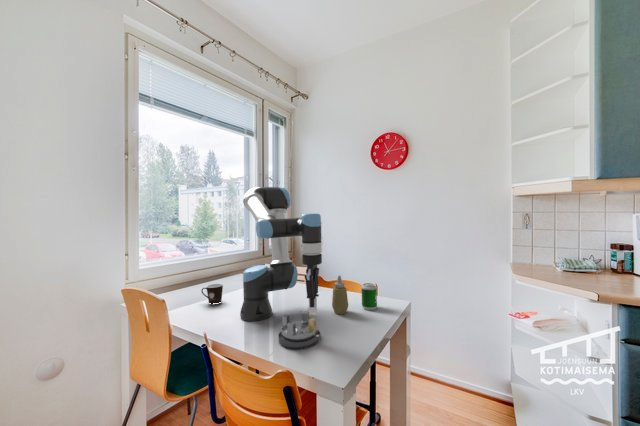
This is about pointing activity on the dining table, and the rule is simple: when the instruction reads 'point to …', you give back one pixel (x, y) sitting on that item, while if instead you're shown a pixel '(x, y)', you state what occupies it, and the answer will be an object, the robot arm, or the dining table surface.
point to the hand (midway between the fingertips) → (313, 314)
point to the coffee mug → (214, 293)
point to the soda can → (369, 296)
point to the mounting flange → (300, 344)
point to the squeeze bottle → (339, 297)
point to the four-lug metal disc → (299, 328)
